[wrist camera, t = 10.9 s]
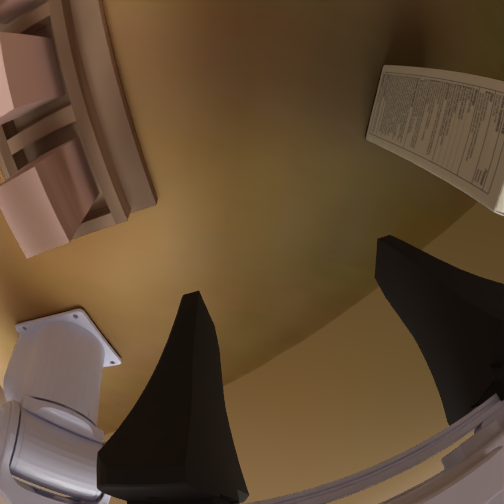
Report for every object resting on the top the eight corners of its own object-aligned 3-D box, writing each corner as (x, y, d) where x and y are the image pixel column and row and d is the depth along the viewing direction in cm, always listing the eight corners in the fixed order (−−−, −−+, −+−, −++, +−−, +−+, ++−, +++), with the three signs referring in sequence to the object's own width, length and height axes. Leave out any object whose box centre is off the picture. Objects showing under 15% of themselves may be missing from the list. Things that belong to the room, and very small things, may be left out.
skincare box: (404, 152, 21) (524, 228, 11) (361, 138, 19) (491, 217, 10) (423, 81, 17) (557, 124, 7) (380, 59, 16) (530, 86, 6)
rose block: (22, 117, 13) (-33, 141, 8) (9, 63, 10) (-49, 71, 6) (64, 94, 13) (14, 108, 8) (52, 38, 11) (-1, 31, 6)
